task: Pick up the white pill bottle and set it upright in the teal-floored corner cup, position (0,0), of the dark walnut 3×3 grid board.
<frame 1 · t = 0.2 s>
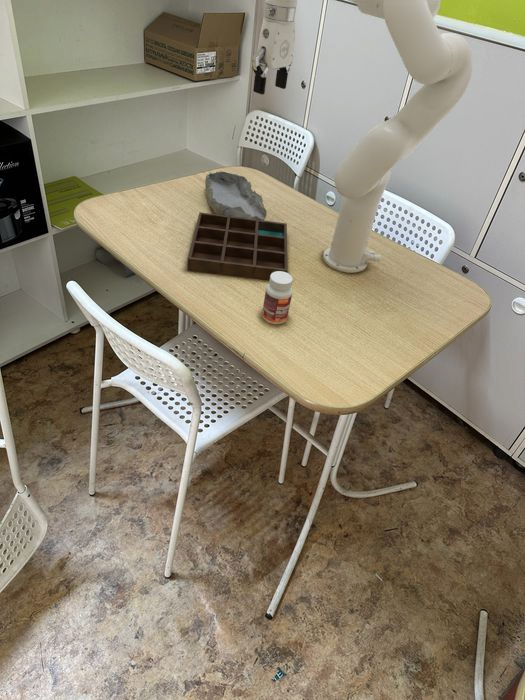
hand: (269, 90, 136), 37 cm above the table, tool pointing down, fingers open, 9 cm apart
grid board: (239, 251, 145), on the table
pill bottle: (274, 317, 124), on the table
stone: (228, 207, 164), on the table
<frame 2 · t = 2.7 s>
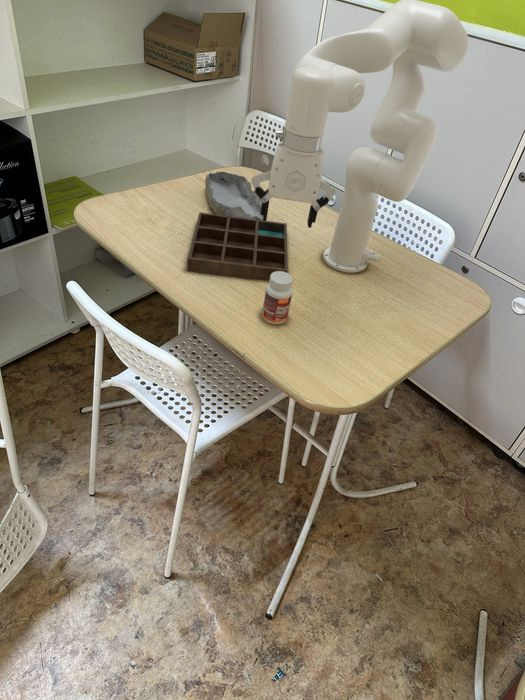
hand: (287, 221, 111), 24 cm above the table, tool pointing down, fingers open, 9 cm apart
nothing on the table moved.
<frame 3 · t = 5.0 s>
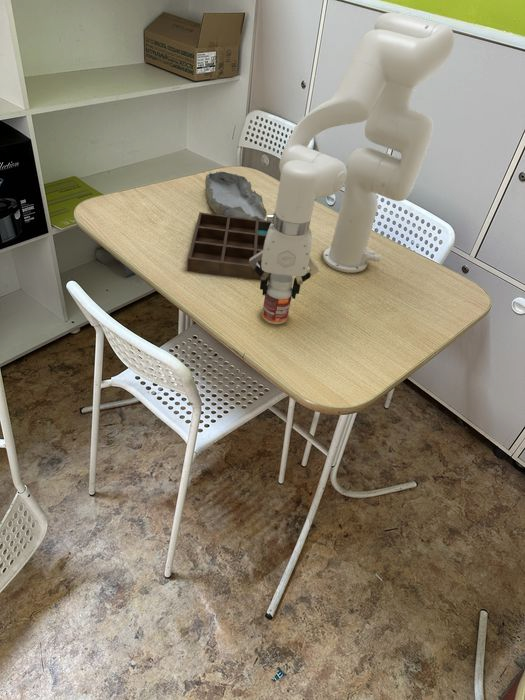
hand: (278, 293, 120), 7 cm above the table, tool pointing down, fingers closed on pill bottle, 6 cm apart
pill bottle: (274, 317, 124), on the table, touching gripper
everything else where it was.
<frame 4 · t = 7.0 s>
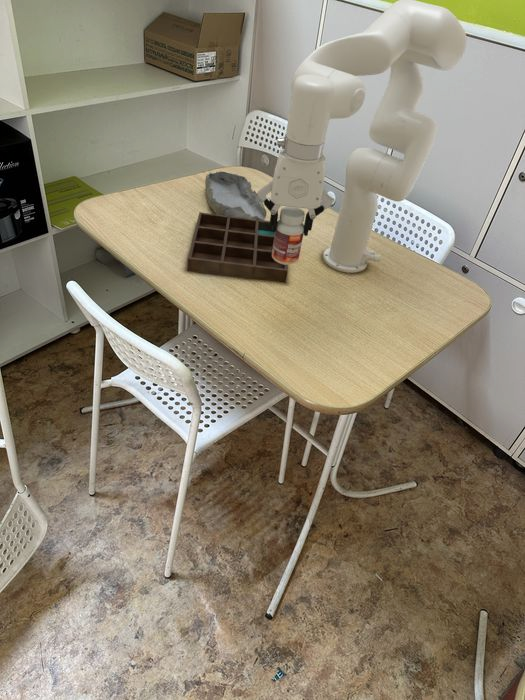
hand: (289, 230, 112), 22 cm above the table, tool pointing down, fingers closed on pill bottle, 6 cm apart
pill bottle: (284, 258, 117), point 15 cm above the table, touching gripper
everything else where it was.
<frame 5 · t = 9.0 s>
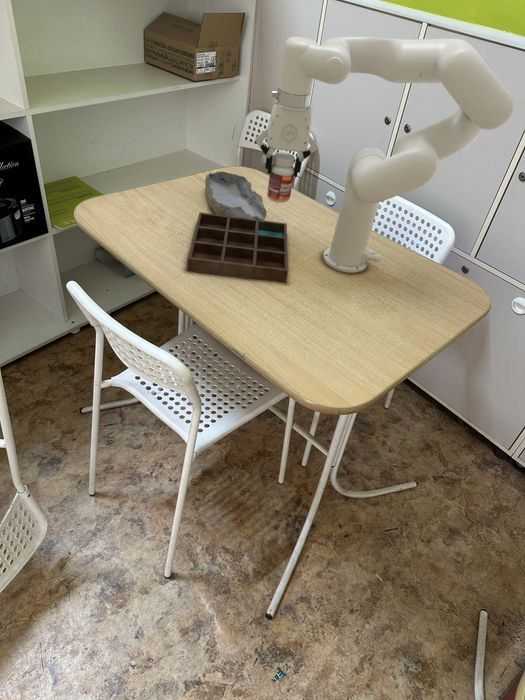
hand: (282, 172, 133), 22 cm above the table, tool pointing down, fingers closed on pill bottle, 6 cm apart
pill bottle: (278, 199, 138), point 15 cm above the table, touching gripper
everything else where it was.
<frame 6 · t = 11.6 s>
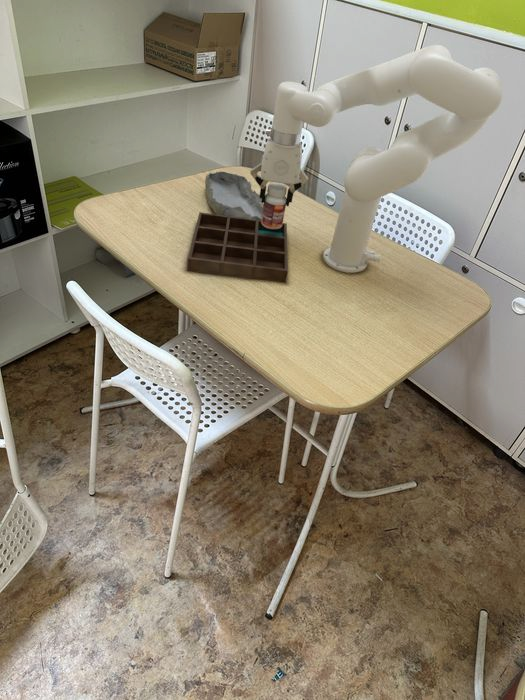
hand: (275, 201, 144), 12 cm above the table, tool pointing down, fingers closed on pill bottle, 6 cm apart
pill bottle: (271, 225, 148), point 5 cm above the table, touching gripper
everything else where it was.
when the fingers open (8 cm above the table, at t = 13.2 s): pill bottle stays where it is, resting on grid board.
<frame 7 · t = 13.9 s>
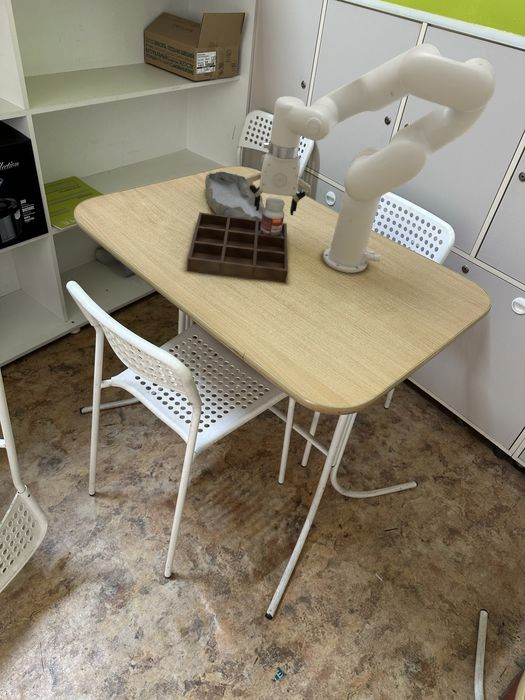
hand: (274, 210, 145), 9 cm above the table, tool pointing down, fingers open, 9 cm apart
pill bottle: (269, 238, 151), point 1 cm above the table, touching grid board
everything else where it was.
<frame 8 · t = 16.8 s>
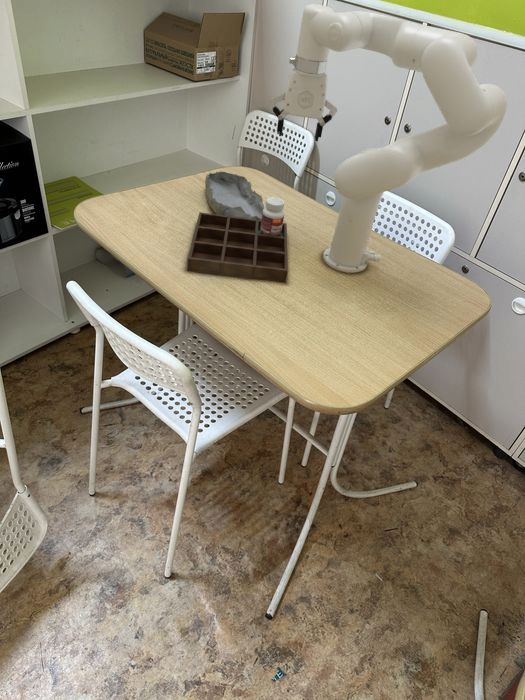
hand: (298, 137, 138), 28 cm above the table, tool pointing down, fingers open, 9 cm apart
nothing on the table moved.
at the end: pill bottle 0.0 cm from the target spot in the grid board, point 0.8 cm above the grid board's base; pill bottle tilted 0°; the gripper is holding nothing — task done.
